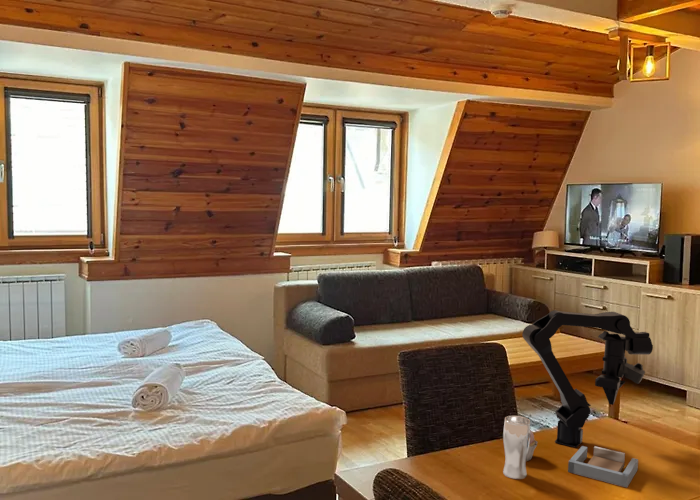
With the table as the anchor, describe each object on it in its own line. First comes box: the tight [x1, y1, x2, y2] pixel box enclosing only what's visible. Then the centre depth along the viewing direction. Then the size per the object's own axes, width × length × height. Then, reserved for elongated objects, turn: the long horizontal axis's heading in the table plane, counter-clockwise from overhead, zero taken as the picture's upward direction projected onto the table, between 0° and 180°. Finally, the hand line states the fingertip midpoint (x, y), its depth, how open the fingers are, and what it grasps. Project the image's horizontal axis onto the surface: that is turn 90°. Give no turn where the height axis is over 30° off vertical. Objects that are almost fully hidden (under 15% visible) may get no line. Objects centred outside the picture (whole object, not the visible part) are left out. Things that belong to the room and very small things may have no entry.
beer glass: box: [502, 415, 531, 480], centre depth 167 cm, size 7×7×15 cm
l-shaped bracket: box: [586, 445, 626, 473], centre depth 172 cm, size 8×10×4 cm
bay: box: [567, 445, 639, 488], centre depth 171 cm, size 15×14×3 cm
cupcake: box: [526, 429, 538, 462], centre depth 179 cm, size 9×9×10 cm
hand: (611, 404), depth 191 cm, fingers closed
